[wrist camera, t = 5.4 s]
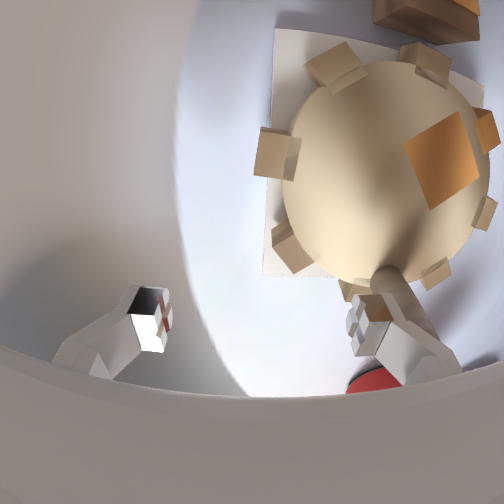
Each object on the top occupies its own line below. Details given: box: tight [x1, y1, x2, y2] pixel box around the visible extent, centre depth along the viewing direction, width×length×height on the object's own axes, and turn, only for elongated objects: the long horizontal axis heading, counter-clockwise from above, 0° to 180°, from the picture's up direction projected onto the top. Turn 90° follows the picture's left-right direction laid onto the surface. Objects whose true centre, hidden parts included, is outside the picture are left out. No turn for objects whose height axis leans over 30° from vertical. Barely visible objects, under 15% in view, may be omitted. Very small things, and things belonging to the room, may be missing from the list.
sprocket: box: [254, 41, 501, 342], centre depth 9 cm, size 13×13×8 cm
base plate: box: [263, 28, 484, 278], centre depth 13 cm, size 12×13×1 cm
